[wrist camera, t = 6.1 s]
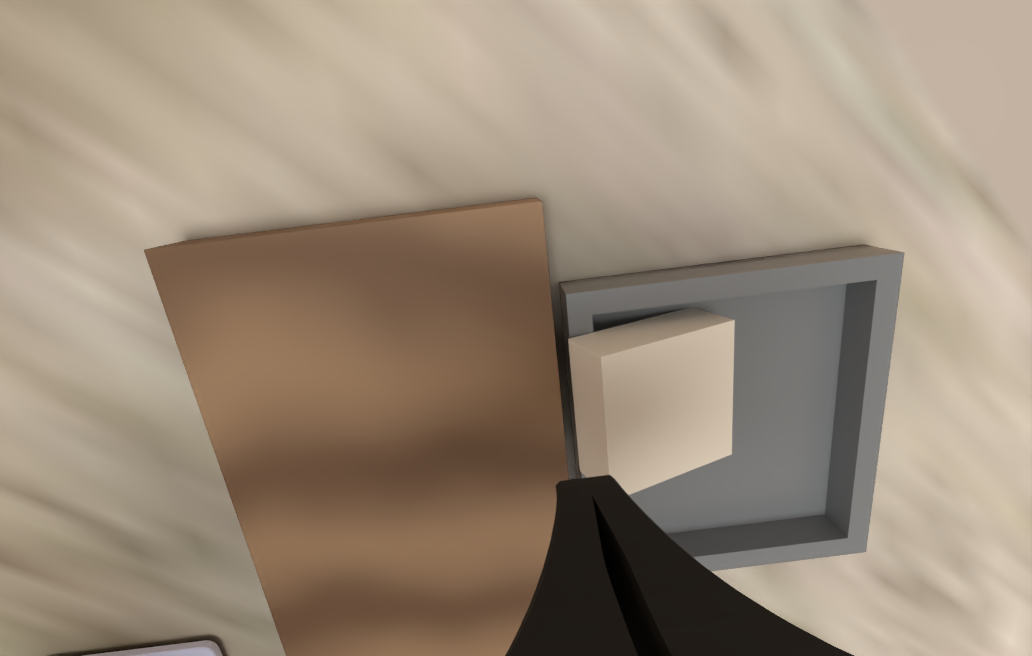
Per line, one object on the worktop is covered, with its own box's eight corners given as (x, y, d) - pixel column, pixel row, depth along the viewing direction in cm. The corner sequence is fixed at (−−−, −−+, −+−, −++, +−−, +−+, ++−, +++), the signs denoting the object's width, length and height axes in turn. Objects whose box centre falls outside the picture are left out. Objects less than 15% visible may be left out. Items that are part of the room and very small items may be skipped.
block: (692, 429, 19) (731, 454, 17) (579, 470, 17) (610, 501, 16) (691, 307, 18) (734, 319, 16) (568, 339, 16) (600, 357, 14)
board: (577, 607, 22) (585, 648, 20) (313, 639, 22) (296, 683, 20) (536, 197, 17) (541, 201, 15) (184, 241, 17) (143, 250, 15)
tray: (835, 521, 21) (866, 552, 19) (583, 552, 21) (591, 585, 19) (864, 244, 17) (904, 252, 16) (559, 282, 17) (565, 294, 16)
